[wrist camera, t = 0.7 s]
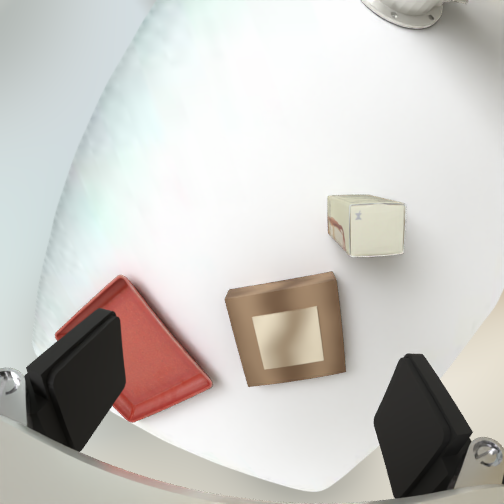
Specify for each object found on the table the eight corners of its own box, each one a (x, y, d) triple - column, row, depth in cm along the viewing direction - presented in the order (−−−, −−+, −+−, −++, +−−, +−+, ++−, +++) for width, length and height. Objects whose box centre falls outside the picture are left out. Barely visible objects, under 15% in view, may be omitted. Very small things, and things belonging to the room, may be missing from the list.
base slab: (332, 271, 34) (336, 280, 31) (341, 358, 37) (346, 372, 34) (229, 289, 36) (224, 300, 33) (250, 373, 38) (248, 387, 35)
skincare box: (327, 234, 33) (345, 258, 24) (326, 194, 32) (345, 202, 23) (372, 233, 33) (405, 256, 23) (372, 194, 32) (407, 202, 22)
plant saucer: (63, 327, 41) (51, 336, 37) (132, 264, 37) (120, 272, 34) (137, 411, 43) (130, 424, 40) (220, 371, 39) (215, 385, 36)
